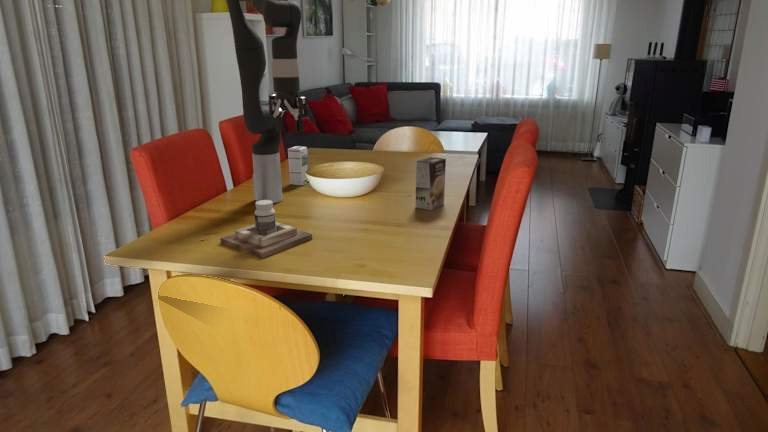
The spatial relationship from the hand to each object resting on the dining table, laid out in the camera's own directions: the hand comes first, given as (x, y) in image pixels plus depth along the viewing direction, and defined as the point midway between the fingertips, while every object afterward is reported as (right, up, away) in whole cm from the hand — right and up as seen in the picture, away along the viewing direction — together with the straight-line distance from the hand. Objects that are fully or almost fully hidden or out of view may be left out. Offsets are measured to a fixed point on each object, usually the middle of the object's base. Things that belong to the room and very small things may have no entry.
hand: (289, 131), depth 157 cm
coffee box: (+44, -22, +23) cm, 54 cm away
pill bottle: (-5, -31, -8) cm, 32 cm away
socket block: (-5, -32, -8) cm, 34 cm away
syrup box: (-5, -12, +53) cm, 55 cm away
